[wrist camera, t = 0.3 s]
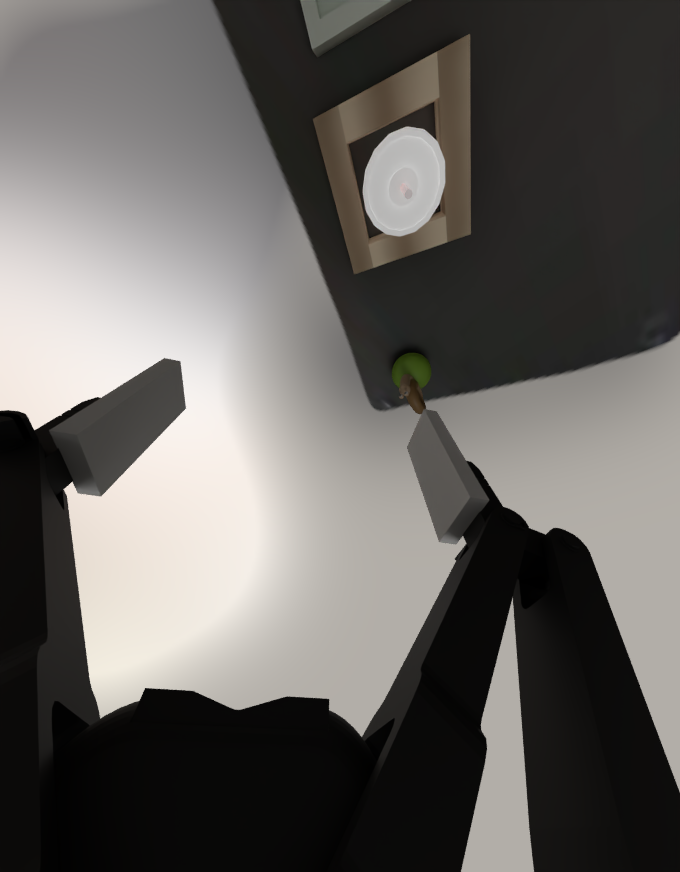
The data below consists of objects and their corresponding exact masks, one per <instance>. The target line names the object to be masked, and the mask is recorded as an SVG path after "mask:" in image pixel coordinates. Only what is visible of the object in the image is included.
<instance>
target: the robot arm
mask: <svg viewBox="0 0 680 872" xmlns="http://www.w3.org/2000/svg"><path fill="white" fill-rule="evenodd" d="M180 364H181V363H180V361H176V360H171V359H165V358H164V359H163V360H161V361H159V362H158V363H156V364H154V365H153V366H151V367H150V368H148V369H146V370H145V371H143V372H142V373H140V374H139V375H137V376H135V377H134V378H132V379H131V380H129V381H128V382H126V383H124V384H123V385H121V386H120V387H118V388H116V389H115V390H113V391H111V392H110V393H108V394H107V395H105V396H103V397H102V398H99V397H97V398H94V399H91V400H87V401H84V402H81V403H80V404H78V405H76V406H75V407H73V408H72V409H71V410H68V411H66V412H65V413H63V414H62V416H58V417H56V418H55V419H53V420H51V421H50V422H48V423H46V424H45V425H43V426H41V427H40V428H38V429H36V430H34V429H33V427H32V425H31V423H30V421H29V419H28V417H27V416H26V414H24V413H21V412H18V411H9V410H7V411H0V872H461V869H462V864H463V859H464V855H465V850H466V846H467V841H468V837H469V832H470V828H471V823H472V819H473V814H474V810H475V805H476V801H477V796H478V791H479V786H480V782H481V778H482V773H483V769H484V765H485V759H486V751H487V744H486V738H485V736H484V735H483V733H482V731H481V720H482V716H483V712H484V708H485V704H486V700H487V696H488V691H489V688H490V684H491V680H492V676H493V672H494V668H495V664H496V660H497V656H498V652H499V648H500V644H501V640H502V636H503V632H504V629H505V625H506V621H507V617H508V613H509V609H510V605H511V601H512V597H513V605H514V620H515V633H516V647H517V659H518V660H517V661H518V674H519V689H520V703H521V717H522V731H523V744H524V758H525V772H526V787H527V800H528V815H529V828H530V838H531V847H532V856H533V865H534V872H680V792H679V789H678V787H677V784H676V781H675V779H674V776H673V773H672V771H671V768H670V765H669V763H668V760H667V757H666V755H665V752H664V749H663V747H662V744H661V741H660V739H659V736H658V733H657V730H656V728H655V725H654V723H653V720H652V717H651V715H650V712H649V709H648V707H647V704H646V701H645V699H644V696H643V693H642V690H641V688H640V685H639V682H638V680H637V677H636V675H635V672H634V669H633V666H632V664H631V661H630V658H629V656H628V653H627V650H626V648H625V645H624V642H623V640H622V637H621V635H620V632H619V629H618V626H617V624H616V621H615V618H614V616H613V613H612V610H611V608H610V605H609V603H608V600H607V597H606V594H605V592H604V589H603V586H602V584H601V581H600V578H599V576H598V573H597V571H596V568H595V565H594V562H593V560H592V557H591V554H590V552H589V550H588V549H587V547H586V546H585V545H584V544H583V542H582V541H581V540H580V539H579V538H578V537H576V536H575V535H573V534H571V533H569V532H567V531H566V530H563V529H560V528H553V529H552V530H550V531H549V532H548V533H547V534H546V535H545V534H543V533H540V532H538V531H535V530H532V529H530V528H529V526H528V525H527V523H526V521H525V520H524V519H523V518H522V517H521V516H520V515H518V514H517V513H516V512H514V511H512V510H510V509H508V508H505V507H503V506H502V504H501V503H500V501H499V500H498V498H497V497H496V495H495V493H494V492H493V490H492V489H491V487H490V486H489V484H488V482H487V481H486V479H484V476H483V474H482V473H481V471H480V470H479V469H478V468H477V467H476V466H475V465H474V464H473V463H472V462H469V461H466V460H465V458H464V457H463V455H462V453H461V452H460V450H459V448H458V447H457V445H456V443H455V442H454V440H453V438H452V437H451V435H450V433H449V432H448V430H447V428H446V426H445V425H444V423H443V421H442V420H441V418H440V416H439V415H438V413H437V412H436V411H431V410H426V409H424V410H423V412H422V415H421V417H420V419H419V421H418V424H417V426H416V428H415V431H414V433H413V435H412V437H411V440H410V442H409V444H408V446H407V449H408V452H409V454H410V457H411V460H412V463H413V466H414V469H415V472H416V475H417V478H418V481H419V484H420V487H421V490H422V492H423V496H424V498H425V502H426V504H427V507H428V510H429V513H430V516H431V519H432V522H433V525H434V528H435V531H436V534H437V537H438V540H439V542H443V543H450V544H457V543H458V541H459V540H460V538H461V537H462V536H464V539H465V541H466V543H467V544H466V545H465V546H464V548H463V549H462V550H461V552H460V553H459V554H458V555H457V557H456V558H455V560H456V563H455V565H454V567H453V569H452V570H451V572H450V574H449V576H448V578H447V580H446V582H445V584H444V586H443V588H442V590H441V592H440V594H439V596H438V598H437V600H436V601H435V603H434V605H433V607H432V609H431V611H430V613H429V615H428V617H427V619H426V621H425V623H424V625H423V627H422V629H421V630H420V632H419V634H418V636H417V638H416V640H415V642H414V644H413V646H412V648H411V650H410V652H409V654H408V656H407V658H406V660H405V661H404V663H403V666H402V667H401V669H400V671H399V673H398V675H397V677H396V679H395V681H394V683H393V685H392V687H391V689H390V691H389V692H388V694H387V696H386V698H385V700H384V702H383V703H382V705H381V707H380V708H379V709H378V711H377V712H376V714H375V715H374V717H373V719H372V720H371V722H370V724H369V726H368V727H367V729H366V731H365V733H364V735H363V736H362V737H361V736H360V735H359V733H358V732H357V731H356V730H355V729H354V728H353V727H352V726H351V725H350V724H349V723H348V722H347V721H346V720H345V719H343V718H342V717H340V716H339V715H337V714H336V713H333V712H332V711H329V699H320V698H304V697H283V698H280V699H277V700H273V701H270V702H266V703H263V704H259V705H256V706H252V707H249V708H245V709H242V710H234V709H232V708H229V707H227V706H225V705H223V704H220V703H218V702H216V701H214V700H212V699H210V698H207V697H205V696H203V695H201V694H199V693H196V692H194V691H185V690H168V689H149V688H145V690H144V692H143V695H142V697H141V699H140V701H138V702H134V703H132V704H129V705H127V706H124V707H121V708H119V709H117V710H115V711H113V712H112V713H110V714H108V715H106V716H104V717H102V718H101V719H100V715H99V710H98V706H97V702H96V699H95V696H94V694H93V691H92V688H91V684H90V679H89V672H88V665H87V656H86V648H85V640H84V632H83V624H82V616H81V608H80V600H79V591H78V583H77V575H76V567H75V559H74V551H73V543H72V535H71V526H70V519H69V510H68V502H67V496H66V494H65V492H64V490H63V489H64V488H66V487H67V486H68V485H69V484H70V483H71V482H72V481H73V484H74V486H75V488H76V490H77V492H78V493H80V494H87V495H95V496H102V495H103V494H104V493H105V492H106V491H107V490H108V489H109V488H110V487H111V485H112V484H113V483H114V482H115V481H116V480H117V479H118V478H119V477H120V476H121V475H122V474H123V473H124V472H125V471H126V470H127V469H128V468H129V467H130V466H131V465H132V464H133V463H134V462H135V461H136V459H137V458H138V457H139V456H140V455H141V454H142V453H143V452H144V451H145V450H146V449H147V448H148V447H149V446H150V445H151V444H152V443H153V442H154V441H155V440H156V439H157V438H158V436H160V435H161V434H162V432H163V431H164V430H165V429H166V428H167V427H168V426H169V425H170V424H171V423H172V422H173V421H174V420H175V419H176V418H177V417H178V416H179V415H180V414H181V413H182V412H183V411H184V410H185V409H186V406H185V397H184V389H183V380H182V372H181V365H180Z"/></svg>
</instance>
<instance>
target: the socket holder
mask: <svg viewBox="0 0 680 872" xmlns="http://www.w3.org/2000/svg"><path fill="white" fill-rule="evenodd" d="M433 102H434V112H435V128H436V141H437V142H438V144H439V146H440V149H441V152H442V154H443V157H444V160H445V186H444V189H443V193H442V196H441V200H440V208H441V211H440V212H438V213H435V214H433V215H432V216H431V218H430V219H429V221H428V222H426V223H425V224H424V225H423V226H422V227H420V228H419V229H418V230H417V231H416V232H413V233H410V234H407V235H404V236H401V237H400V236H393V235H387V234H385V233H382V234H380V235H377V236H374V237H372V238H369V236H368V231H367V227H366V222H365V217H364V213H363V208H362V203H361V199H360V194H359V189H358V185H357V180H356V175H355V171H354V166H353V162H352V157H351V152H350V148H349V144H350V143H352V142H354V141H356V140H358V139H360V138H362V137H364V136H366V135H368V134H370V133H372V132H374V131H376V130H378V129H380V128H382V127H385V126H387V125H389V124H391V123H393V122H395V121H397V120H399V119H401V118H403V117H405V116H407V115H409V114H411V113H413V112H415V111H417V110H419V109H421V108H423V107H425V106H427V105H429V104H431V103H433ZM313 121H314V125H315V129H316V133H317V136H318V140H319V144H320V148H321V151H322V155H323V159H324V163H325V166H326V170H327V174H328V178H329V181H330V185H331V189H332V193H333V196H334V200H335V204H336V208H337V211H338V215H339V219H340V223H341V227H342V230H343V234H344V238H345V242H346V245H347V249H348V253H349V257H350V260H351V264H352V268H353V272H354V274H357V273H360V272H363V271H366V270H368V269H371V268H374V267H377V266H380V265H383V264H386V263H389V262H392V261H394V260H397V259H400V258H403V257H406V256H409V255H412V254H415V253H418V252H420V251H423V250H426V249H429V248H432V247H435V246H438V245H441V244H444V243H446V242H449V241H452V240H455V239H458V238H461V237H464V236H467V235H470V234H471V163H470V34H468V35H467V36H465V37H463V38H461V39H459V40H457V41H456V42H454V43H452V44H450V45H448V46H446V47H444V48H443V49H441V50H439V51H437V52H435V53H433V54H432V55H430V56H428V57H426V58H424V59H422V60H421V61H419V62H417V63H415V64H413V65H411V66H410V67H408V68H406V69H404V70H402V71H400V72H398V73H397V74H395V75H393V76H391V77H389V78H387V79H386V80H384V81H382V82H380V83H378V84H376V85H375V86H373V87H371V88H369V89H367V90H365V91H363V92H362V93H360V94H358V95H356V96H354V97H352V98H351V99H349V100H347V101H345V102H343V103H341V104H340V105H338V106H336V107H334V108H332V109H330V110H328V111H327V112H325V113H323V114H321V115H319V116H317V117H316V118H314V119H313Z"/></svg>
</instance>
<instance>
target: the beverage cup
mask: <svg viewBox="0 0 680 872" xmlns="http://www.w3.org/2000/svg"><path fill="white" fill-rule="evenodd" d="M444 186H445V160H444V157H443V154H442V152H441V149H440V146H439V144H438V142H437V141H436V140H435V139H434V138H433V137H432V136H431V135H430V134H429V133H428V132H426V131H425V130H424V129H419V128H413V127H404V128H402V129H400V130H397V131H395V132H392V133H390V134H389V135H388V136H387V137H386V138H385V139H384V140H383V141H382V142H381V143H380V144H379V145H378V146H377V147H376V149H375V150H374V152H373V154H372V156H371V159H370V161H369V163H368V165H367V168H366V170H365V177H364V185H363V197H364V203H365V208H366V212H367V214H368V215H369V217H370V219H371V221H372V222H373V224H374V226H376V227H377V228H378V229H380V230H381V231H382V232H384V233H385V234H387V235H393V236H400V237H401V236H404V235H407V234H410V233H413V232H416V231H417V230H418V229H419V228H420V227H422V226H423V225H424V224H425V223H426V222H428V221H429V219H430V218H431V216H432V215H433V213H434V211H435V210H436V208H437V207H438V205H439V203H440V200H441V196H442V193H443V189H444Z"/></svg>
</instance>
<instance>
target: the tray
mask: <svg viewBox="0 0 680 872" xmlns="http://www.w3.org/2000/svg"><path fill="white" fill-rule="evenodd" d="M300 1H301V5H302V9H303V14H304V18H305V22H306V26H307V30H308V34H309V39H310V43H311V47H312V50H313V52H314V54H315V55H316V57H317V58H318V57H320V56H321V55H323V54H324V53H326V52H328V51H329V50H331V49H333V48H334V47H336V46H338V45H339V44H341V43H343V42H344V41H346V40H347V39H349V38H351V37H352V36H354V35H356V34H357V33H359V32H361V31H362V30H364V29H365V28H367V27H369V26H370V25H372V24H374V23H375V22H377V21H379V20H380V19H382V18H383V17H385V16H387V15H388V14H390V13H392V12H393V11H395V10H397V9H398V8H400V7H401V6H403V5H405V4H406V3H408V2H410V1H411V0H300Z"/></svg>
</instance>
